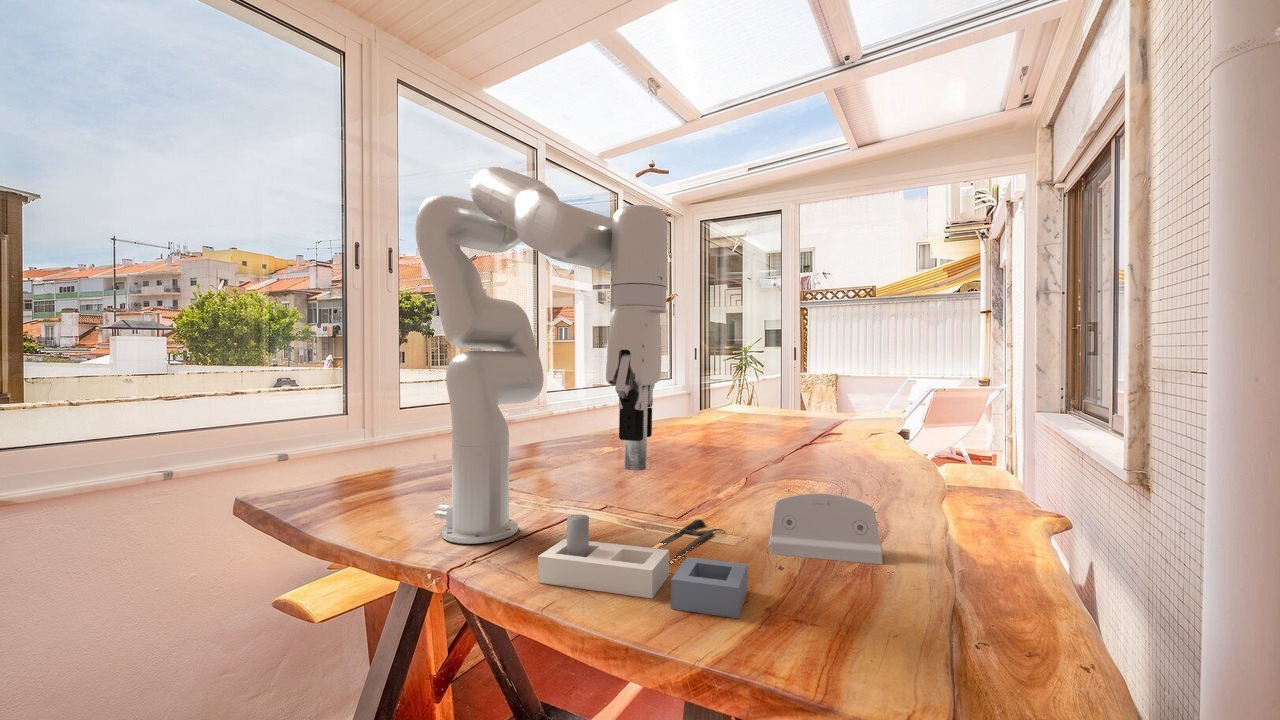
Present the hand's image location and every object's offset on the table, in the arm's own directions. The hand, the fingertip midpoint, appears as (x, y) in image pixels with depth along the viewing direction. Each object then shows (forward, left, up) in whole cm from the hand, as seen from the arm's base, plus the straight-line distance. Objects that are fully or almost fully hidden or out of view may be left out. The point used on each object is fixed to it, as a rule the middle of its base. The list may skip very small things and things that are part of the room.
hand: (635, 436), depth 73 cm
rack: (-4, 0, -20) cm, 20 cm away
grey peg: (0, 0, -4) cm, 4 cm away
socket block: (+11, -2, -20) cm, 22 cm away
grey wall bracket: (+24, +21, -20) cm, 38 cm away
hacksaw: (+4, +17, -20) cm, 27 cm away
